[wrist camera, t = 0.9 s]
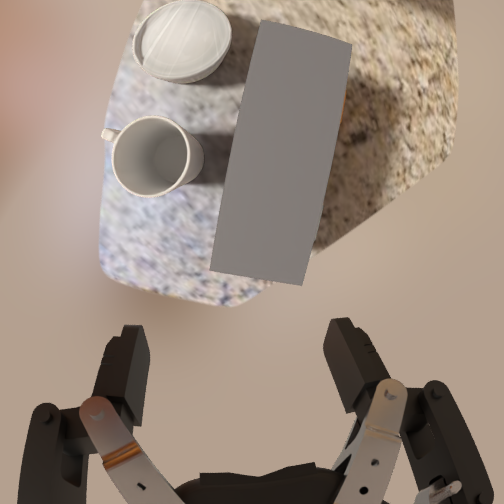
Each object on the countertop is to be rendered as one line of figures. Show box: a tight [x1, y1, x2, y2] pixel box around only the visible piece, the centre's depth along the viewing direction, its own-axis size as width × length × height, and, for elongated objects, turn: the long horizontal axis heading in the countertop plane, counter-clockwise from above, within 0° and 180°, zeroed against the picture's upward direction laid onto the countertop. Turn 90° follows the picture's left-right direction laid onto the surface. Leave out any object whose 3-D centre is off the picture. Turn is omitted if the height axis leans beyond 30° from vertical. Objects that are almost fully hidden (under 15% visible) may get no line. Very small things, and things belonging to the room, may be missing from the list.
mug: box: [101, 116, 204, 198], centre depth 26 cm, size 10×7×12 cm, turn 60°
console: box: [210, 20, 352, 286], centre depth 27 cm, size 22×8×12 cm, turn 169°
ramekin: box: [132, 0, 232, 84], centre depth 26 cm, size 11×11×5 cm
